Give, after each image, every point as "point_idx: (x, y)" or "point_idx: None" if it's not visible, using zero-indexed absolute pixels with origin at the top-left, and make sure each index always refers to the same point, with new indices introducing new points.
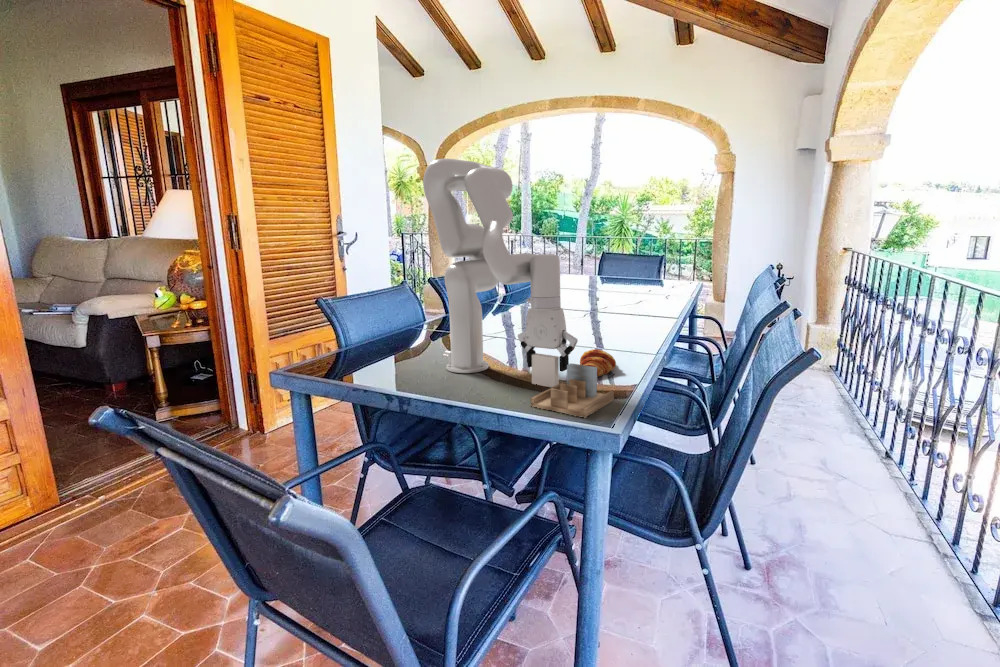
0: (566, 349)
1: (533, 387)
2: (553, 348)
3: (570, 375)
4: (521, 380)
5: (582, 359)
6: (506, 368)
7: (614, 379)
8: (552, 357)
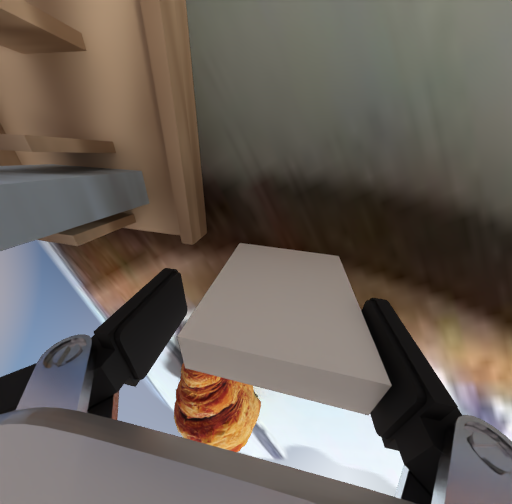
0: (8, 402)
1: (314, 216)
2: (35, 413)
3: (38, 178)
4: (396, 277)
5: (232, 409)
6: (500, 377)
7: None
8: (199, 345)
